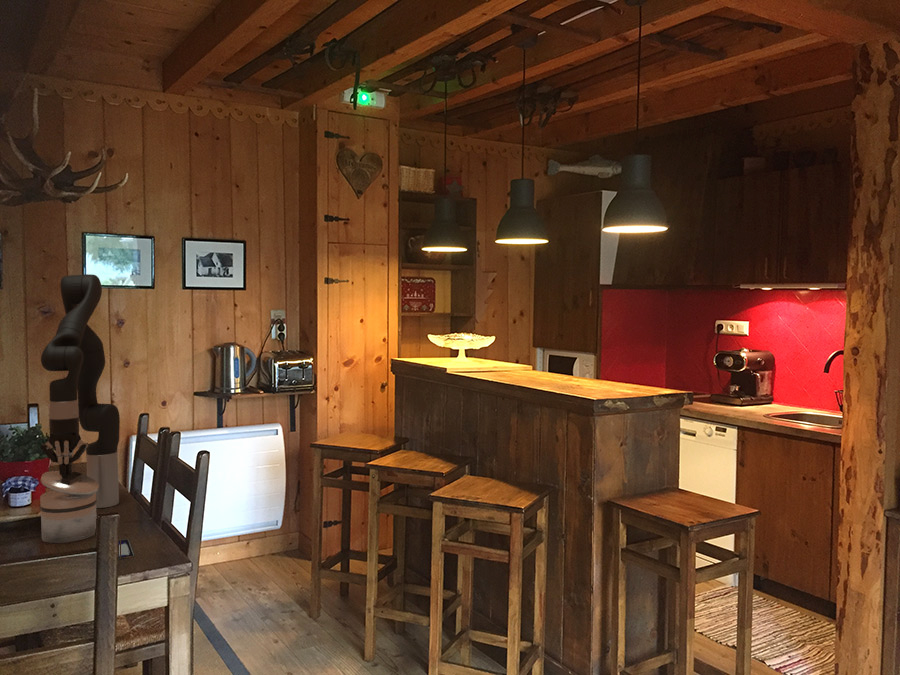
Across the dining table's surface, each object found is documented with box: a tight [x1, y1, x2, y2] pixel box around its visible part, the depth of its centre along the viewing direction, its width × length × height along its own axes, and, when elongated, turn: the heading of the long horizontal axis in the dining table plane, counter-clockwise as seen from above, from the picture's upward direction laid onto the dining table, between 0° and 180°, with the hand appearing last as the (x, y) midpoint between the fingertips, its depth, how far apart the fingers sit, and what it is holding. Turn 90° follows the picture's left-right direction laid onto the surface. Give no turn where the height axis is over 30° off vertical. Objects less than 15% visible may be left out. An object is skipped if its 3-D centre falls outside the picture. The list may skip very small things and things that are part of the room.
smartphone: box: [118, 538, 135, 561], centre depth 197 cm, size 7×1×15 cm
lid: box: [40, 470, 99, 495], centre depth 210 cm, size 15×15×3 cm
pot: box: [39, 490, 98, 544], centre depth 210 cm, size 14×14×12 cm
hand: (65, 476), depth 211 cm, fingers closed
